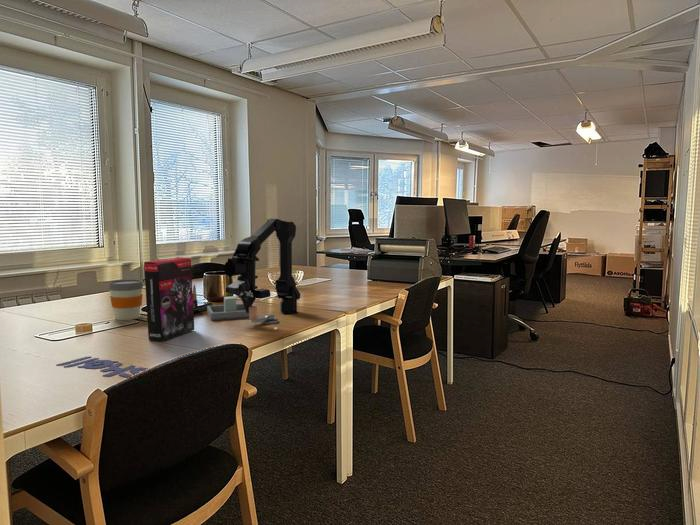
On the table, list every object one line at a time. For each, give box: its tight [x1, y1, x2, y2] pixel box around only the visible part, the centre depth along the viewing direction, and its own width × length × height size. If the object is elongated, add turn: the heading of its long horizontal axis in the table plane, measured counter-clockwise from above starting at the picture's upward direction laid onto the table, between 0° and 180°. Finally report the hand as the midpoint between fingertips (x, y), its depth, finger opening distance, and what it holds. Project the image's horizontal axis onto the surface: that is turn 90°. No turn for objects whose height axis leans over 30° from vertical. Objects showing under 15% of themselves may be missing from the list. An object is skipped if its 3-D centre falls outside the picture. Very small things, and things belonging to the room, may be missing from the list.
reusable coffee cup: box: [108, 278, 144, 321], centre depth 196 cm, size 13×13×15 cm
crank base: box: [260, 317, 279, 331], centre depth 187 cm, size 7×16×1 cm, turn 22°
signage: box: [55, 356, 149, 379], centre depth 135 cm, size 28×1×10 cm
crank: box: [248, 305, 275, 324], centre depth 188 cm, size 12×4×6 cm, turn 138°
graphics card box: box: [143, 256, 195, 342], centre depth 169 cm, size 17×7×27 cm, turn 159°
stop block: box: [223, 295, 237, 312], centre depth 203 cm, size 4×4×7 cm
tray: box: [206, 303, 249, 322], centre depth 203 cm, size 17×16×3 cm
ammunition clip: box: [192, 283, 199, 308], centre depth 206 cm, size 11×2×12 cm, turn 143°
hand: (247, 312), depth 187 cm, fingers closed
